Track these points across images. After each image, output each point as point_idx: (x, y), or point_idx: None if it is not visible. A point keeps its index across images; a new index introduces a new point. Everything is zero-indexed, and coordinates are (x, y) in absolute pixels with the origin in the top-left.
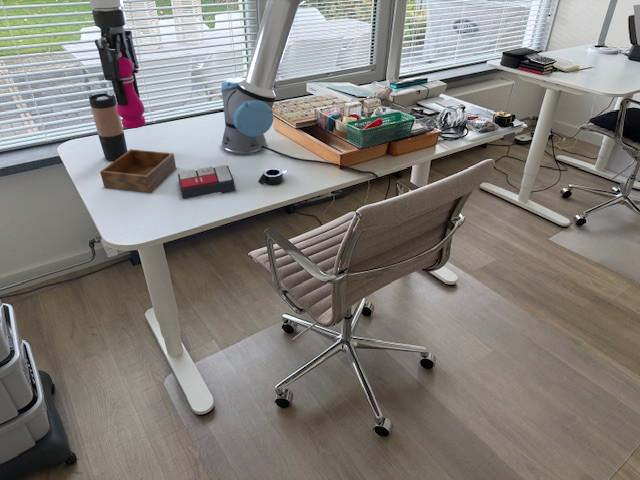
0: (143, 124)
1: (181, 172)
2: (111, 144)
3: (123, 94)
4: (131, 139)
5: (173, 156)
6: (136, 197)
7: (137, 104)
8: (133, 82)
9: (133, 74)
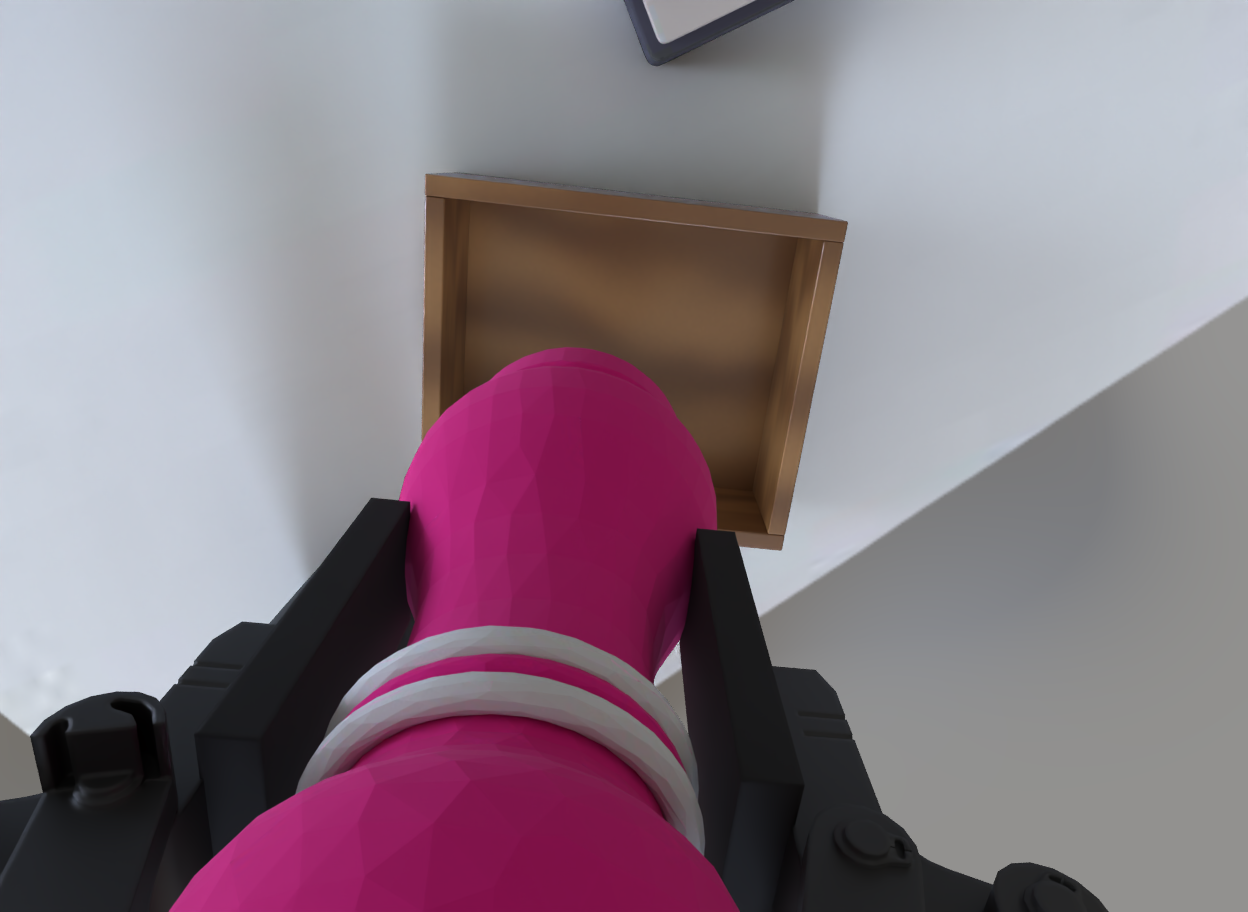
0: (595, 351)
1: (666, 21)
2: (406, 645)
3: (753, 627)
4: (107, 627)
5: (440, 174)
6: (869, 281)
7: (616, 431)
8: (330, 659)
9: (244, 742)
